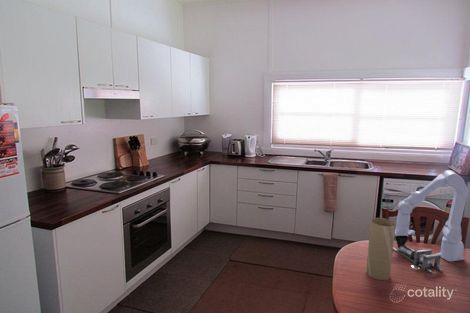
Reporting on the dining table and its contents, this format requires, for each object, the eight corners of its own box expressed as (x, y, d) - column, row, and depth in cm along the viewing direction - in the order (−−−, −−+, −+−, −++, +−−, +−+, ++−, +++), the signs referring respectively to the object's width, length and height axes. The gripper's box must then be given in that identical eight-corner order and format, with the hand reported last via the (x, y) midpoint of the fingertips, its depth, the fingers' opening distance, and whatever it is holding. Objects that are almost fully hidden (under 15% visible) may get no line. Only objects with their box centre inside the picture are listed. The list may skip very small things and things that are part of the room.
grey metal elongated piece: (399, 252, 166) (400, 245, 165) (405, 251, 167) (406, 243, 166) (425, 267, 151) (426, 259, 150) (432, 266, 152) (433, 258, 151)
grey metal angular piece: (403, 247, 171) (404, 235, 170) (444, 271, 148) (446, 258, 146) (384, 249, 168) (385, 237, 167) (423, 274, 145) (424, 261, 143)
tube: (362, 273, 145) (367, 222, 140) (370, 265, 152) (375, 216, 148) (385, 282, 138) (391, 228, 134) (393, 273, 146) (398, 221, 141)
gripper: (408, 219, 171) (405, 243, 173) (385, 222, 167) (383, 246, 170) (419, 224, 164) (416, 249, 167) (395, 227, 160) (392, 252, 163)
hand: (400, 248), depth 168 cm, fingers closed, pressing on grey metal elongated piece
